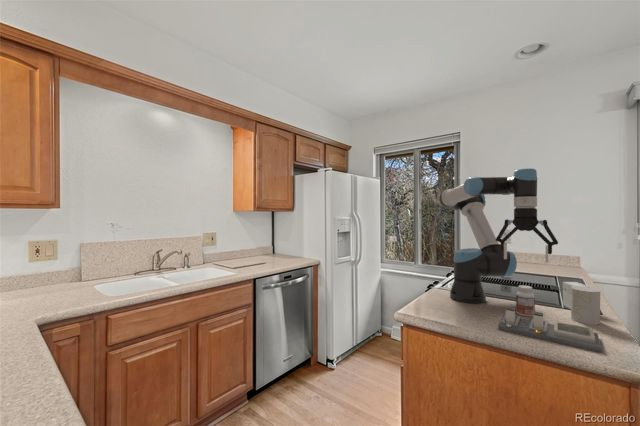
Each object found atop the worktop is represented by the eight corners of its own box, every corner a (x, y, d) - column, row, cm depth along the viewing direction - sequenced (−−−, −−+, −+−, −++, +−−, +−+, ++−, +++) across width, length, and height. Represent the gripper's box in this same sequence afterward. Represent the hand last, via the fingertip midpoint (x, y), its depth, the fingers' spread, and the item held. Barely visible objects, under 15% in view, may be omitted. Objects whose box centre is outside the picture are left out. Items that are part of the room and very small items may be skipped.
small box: (590, 312, 116) (590, 286, 116) (574, 311, 117) (574, 286, 117) (577, 306, 124) (577, 281, 124) (562, 305, 125) (562, 281, 125)
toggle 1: (505, 322, 103) (505, 308, 103) (506, 320, 105) (506, 306, 105) (514, 323, 101) (514, 310, 101) (515, 321, 103) (515, 308, 103)
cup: (565, 316, 112) (565, 286, 112) (584, 316, 112) (584, 285, 112) (586, 325, 104) (586, 292, 104) (606, 324, 104) (606, 291, 104)
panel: (498, 329, 100) (498, 321, 100) (503, 318, 110) (503, 310, 110) (601, 352, 84) (601, 342, 84) (597, 337, 94) (597, 328, 94)
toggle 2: (533, 327, 98) (533, 313, 98) (534, 325, 99) (534, 311, 99) (542, 329, 96) (543, 315, 96) (543, 327, 98) (543, 313, 98)
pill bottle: (521, 310, 119) (521, 284, 119) (538, 315, 114) (538, 287, 114) (512, 312, 116) (512, 285, 116) (529, 318, 111) (529, 289, 111)
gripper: (488, 207, 120) (488, 258, 120) (566, 207, 104) (566, 265, 104) (491, 208, 125) (491, 256, 126) (566, 207, 109) (566, 262, 110)
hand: (525, 260), depth 115 cm, fingers open, 13 cm apart
